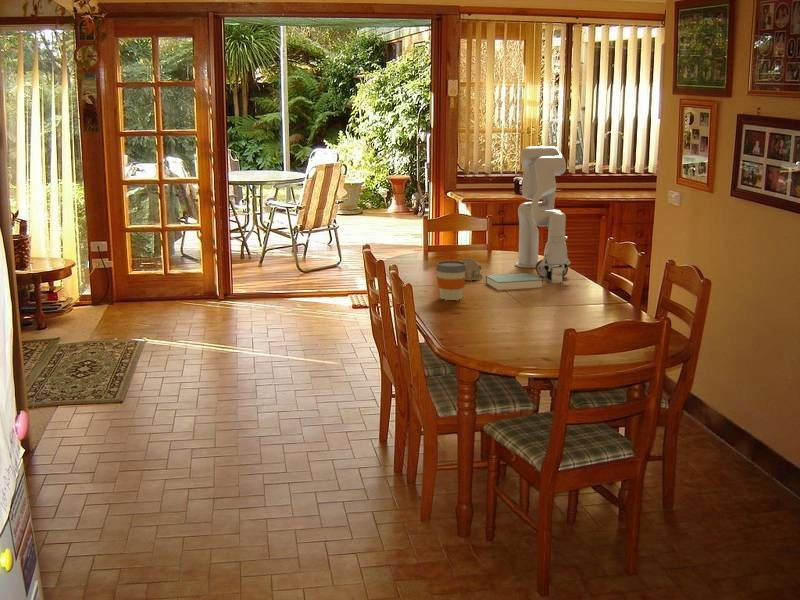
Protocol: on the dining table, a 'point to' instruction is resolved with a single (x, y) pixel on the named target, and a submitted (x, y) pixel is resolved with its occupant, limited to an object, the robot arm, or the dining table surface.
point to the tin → (542, 271)
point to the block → (556, 274)
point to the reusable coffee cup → (451, 279)
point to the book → (513, 281)
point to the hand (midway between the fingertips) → (554, 278)
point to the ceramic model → (472, 269)
